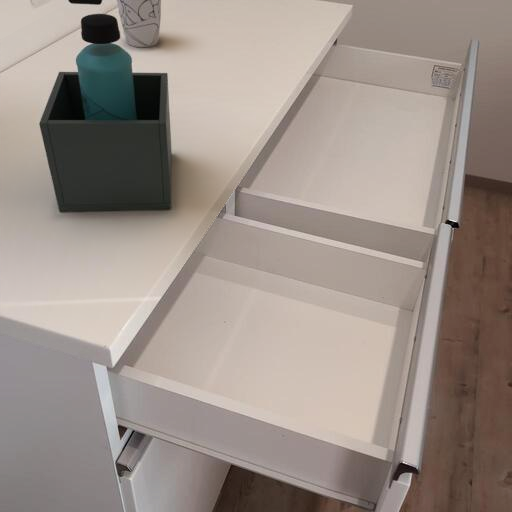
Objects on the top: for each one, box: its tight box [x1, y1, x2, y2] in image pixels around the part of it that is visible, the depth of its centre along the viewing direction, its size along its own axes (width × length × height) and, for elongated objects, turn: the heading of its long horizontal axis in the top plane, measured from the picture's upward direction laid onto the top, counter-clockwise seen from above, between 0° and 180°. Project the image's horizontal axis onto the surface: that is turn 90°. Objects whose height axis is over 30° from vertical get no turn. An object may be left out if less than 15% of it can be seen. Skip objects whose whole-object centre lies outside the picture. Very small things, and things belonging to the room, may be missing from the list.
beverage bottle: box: [75, 13, 137, 120], centre depth 65 cm, size 6×7×20 cm
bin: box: [39, 71, 173, 213], centre depth 69 cm, size 14×14×12 cm
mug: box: [116, 0, 162, 48], centre depth 107 cm, size 11×8×10 cm
